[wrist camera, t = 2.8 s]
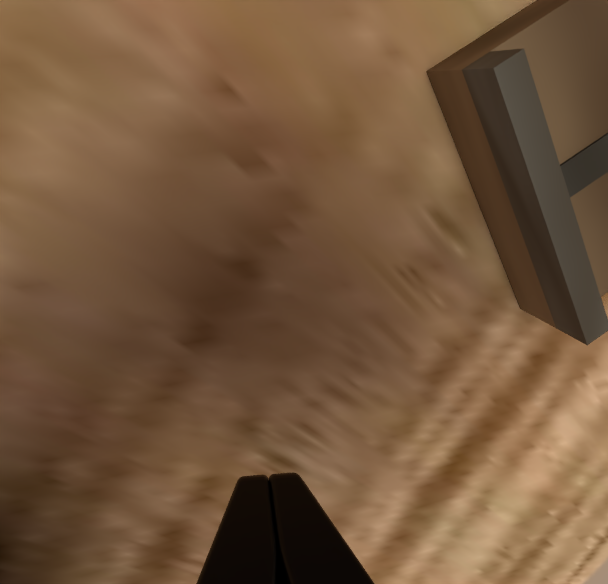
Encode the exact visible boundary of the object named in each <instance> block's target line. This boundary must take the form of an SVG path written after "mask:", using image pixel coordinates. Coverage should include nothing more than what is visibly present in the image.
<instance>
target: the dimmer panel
mask: <svg viewBox="0 0 608 584" xmlns="http://www.w3.org/2000/svg"><path fill="white" fill-rule="evenodd" d="M427 74H428V76H429V79H430V81H431V84H432V86H433V89H434V91H435V94H436V96H437V99H438V102H439V104H440V107H441V109H442V112H443V114H444V117H445V119H446V122H447V124H448V127H449V129H450V132H451V134H452V137H453V139H454V142H455V144H456V147H457V149H458V152H459V155H460V157H461V160H462V162H463V165H464V167H465V170H466V172H467V175H468V177H469V180H470V182H471V185H472V187H473V190H474V192H475V195H476V197H477V200H478V202H479V205H480V208H481V210H482V213H483V215H484V218H485V220H486V223H487V225H488V228H489V230H490V233H491V235H492V238H493V240H494V243H495V245H496V248H497V250H498V253H499V255H500V258H501V261H502V263H503V266H504V268H505V271H506V273H507V276H508V278H509V281H510V283H511V286H512V288H513V291H514V293H515V296H516V298H517V301H518V303H519V306H520V309H522V310H524V311H526V312H528V313H529V314H531V315H533V316H535V317H537V318H539V319H540V320H542V321H544V322H546V323H548V324H550V325H551V326H553V327H555V328H557V329H559V330H561V331H562V332H564V333H566V334H568V335H570V336H572V337H573V338H575V339H577V340H579V341H581V342H583V343H584V344H586V345H588V344H590V343H591V342H593V341H594V340H595V339H597V338H598V337H600V336H601V335H602V334H604V333H605V332H607V331H608V319H607V316H606V313H605V309H604V306H603V303H602V300H601V296H603V295H604V294H606V293H607V292H608V0H537V1H535V2H534V3H532V4H531V5H529V6H528V7H526V8H525V9H523V10H521V11H520V12H518V13H517V14H515V15H514V16H512V17H511V18H509V19H507V20H506V21H504V22H503V23H501V24H500V25H498V26H497V27H495V28H493V29H492V30H490V31H489V32H487V33H486V34H484V35H483V36H481V37H479V38H478V39H476V40H475V41H473V42H472V43H470V44H469V45H467V46H465V47H464V48H462V49H461V50H459V51H458V52H456V53H455V54H453V55H451V56H450V57H448V58H447V59H445V60H444V61H442V62H441V63H439V64H437V65H436V66H434V67H433V68H431V69H430V70H428V71H427Z"/></svg>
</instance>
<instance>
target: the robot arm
mask: <svg viewBox="0 0 608 584" xmlns="http://www.w3.org/2000/svg"><path fill="white" fill-rule="evenodd" d="M196 584H374V582H373V581H372V579H371V578H370V576H369V575H368V574H367V572H366V571H365V569H364V568H363V566H362V565H361V563H360V562H359V561H358V559H357V558H356V556H355V555H354V553H353V552H352V550H351V549H350V548H349V546H348V545H347V543H346V542H345V540H344V539H343V537H342V536H341V535H340V533H339V532H338V530H337V529H336V527H335V526H334V524H333V523H332V521H331V520H330V519H329V517H328V516H327V514H326V513H325V511H324V510H323V508H322V507H321V506H320V504H319V503H318V501H317V500H316V498H315V497H314V495H313V494H312V493H311V491H310V490H309V488H308V487H307V485H306V484H305V482H304V481H303V480H302V478H301V477H300V476H299V475H298V474H297V473H280V474H272V475H271V476H270V477H269V480H268V477H267V476H265V475H253V476H243V477H240V478H239V480H238V481H237V483H236V486H235V488H234V491H233V493H232V496H231V498H230V501H229V503H228V506H227V508H226V511H225V513H224V516H223V518H222V521H221V523H220V526H219V528H218V531H217V533H216V536H215V538H214V541H213V543H212V546H211V548H210V551H209V553H208V556H207V558H206V561H205V563H204V566H203V568H202V571H201V573H200V576H199V578H198V581H197V583H196Z"/></svg>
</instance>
